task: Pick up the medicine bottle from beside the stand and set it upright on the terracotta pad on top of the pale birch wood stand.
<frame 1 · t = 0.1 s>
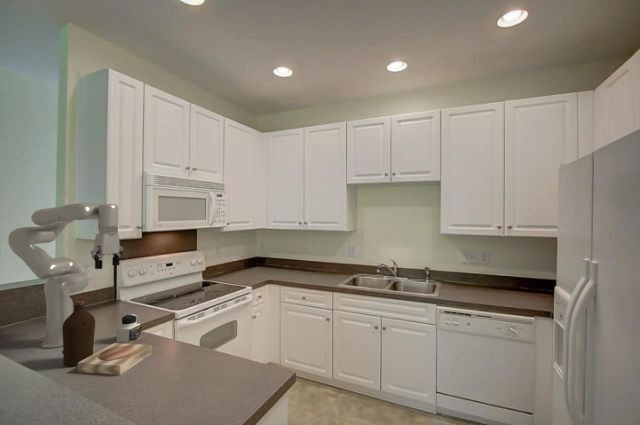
hand: (107, 267, 137), 37 cm above the countertop, tool pointing down, fingers open, 9 cm apart
medicine bottle: (129, 340, 143), on the countertop
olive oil: (78, 361, 122), on the countertop
stand: (117, 361, 122), on the countertop
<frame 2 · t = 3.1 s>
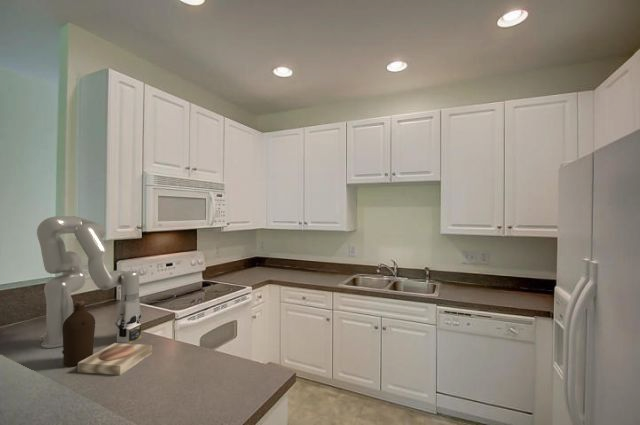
hand: (129, 333, 143), 3 cm above the countertop, tool pointing down, fingers closed on medicine bottle, 7 cm apart
medicine bottle: (129, 340, 143), on the countertop, touching gripper
everything else where it was.
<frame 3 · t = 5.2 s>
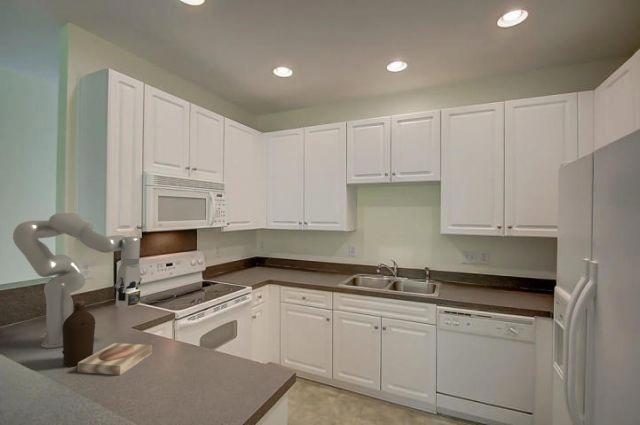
hand: (128, 298, 143), 20 cm above the countertop, tool pointing down, fingers closed on medicine bottle, 7 cm apart
medicine bottle: (127, 305, 143), point 17 cm above the countertop, touching gripper
everything else where it was.
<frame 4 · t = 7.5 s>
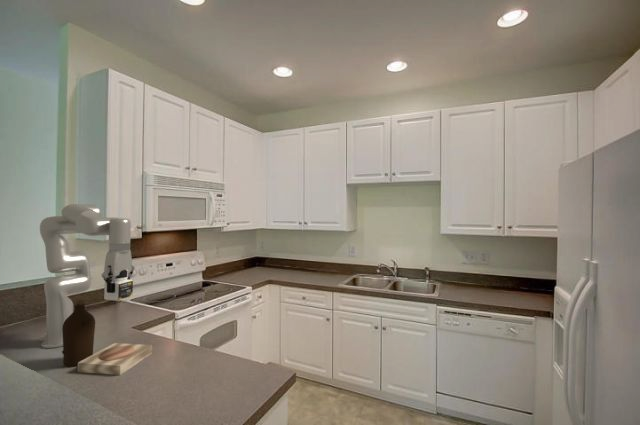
hand: (118, 289, 123), 30 cm above the countertop, tool pointing down, fingers closed on medicine bottle, 7 cm apart
medicine bottle: (118, 298, 123), point 26 cm above the countertop, touching gripper
everything else where it was.
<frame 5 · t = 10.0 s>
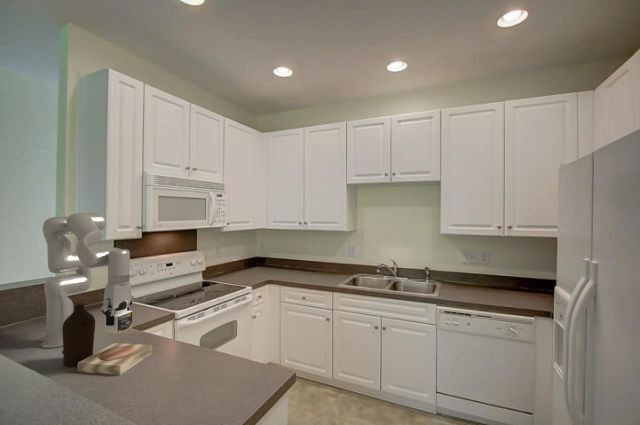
hand: (118, 321, 122), 17 cm above the countertop, tool pointing down, fingers closed on medicine bottle, 7 cm apart
medicine bottle: (118, 330, 122), point 13 cm above the countertop, touching gripper
everything else where it was.
when the fingers open (9 cm above the countertop, at t = 12.1 s): medicine bottle drops 2 cm, resting on stand.
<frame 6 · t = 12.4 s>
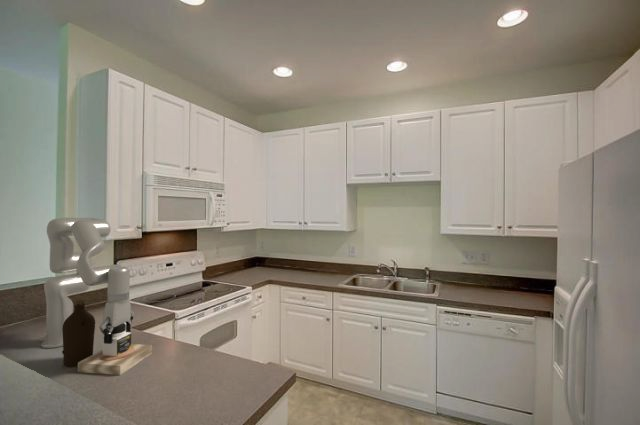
hand: (117, 338, 122), 10 cm above the countertop, tool pointing down, fingers open, 9 cm apart
medicine bottle: (117, 352, 122), point 4 cm above the countertop, touching stand
everything else where it was.
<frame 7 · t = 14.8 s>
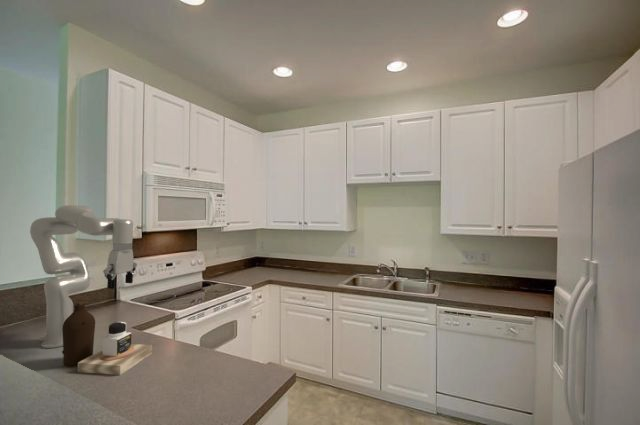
hand: (120, 285, 130), 30 cm above the countertop, tool pointing down, fingers open, 9 cm apart
nothing on the countertop moved.
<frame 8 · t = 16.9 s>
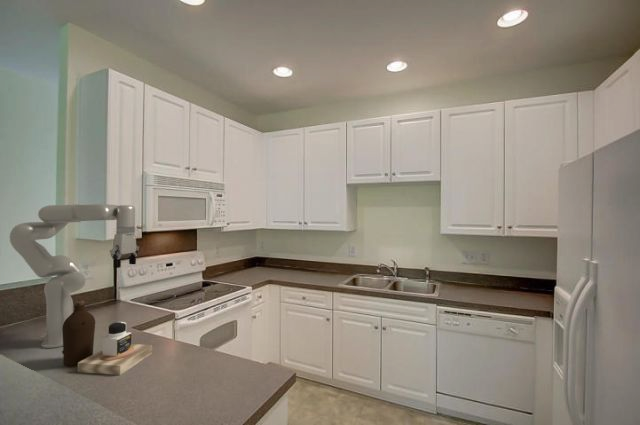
hand: (125, 265, 143), 36 cm above the countertop, tool pointing down, fingers open, 9 cm apart
nothing on the countertop moved.
at the end: medicine bottle inside the target area on the stand (0.1 cm from its centre), point 3.8 cm above the stand's base; medicine bottle tilted 0°; the gripper is holding nothing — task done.
